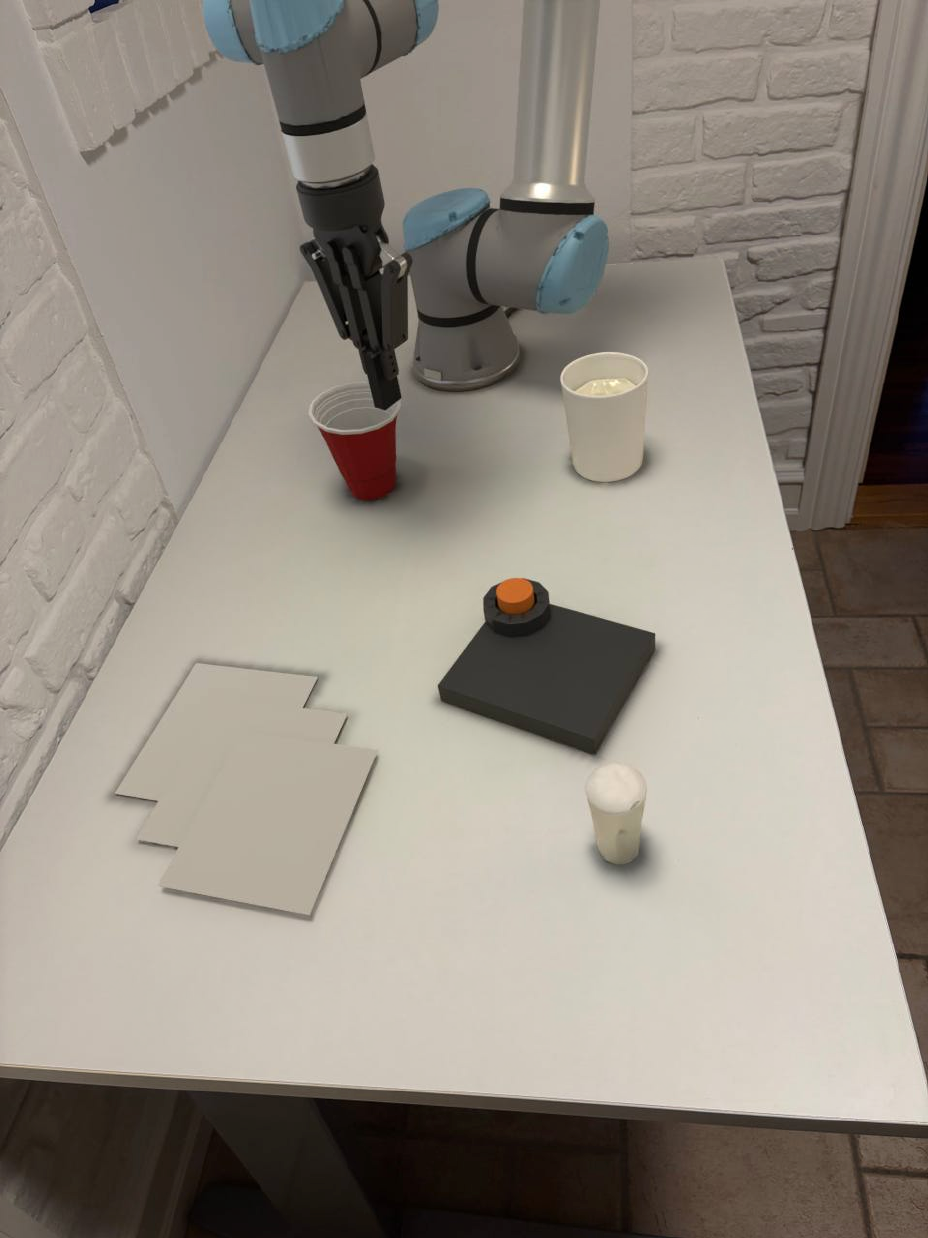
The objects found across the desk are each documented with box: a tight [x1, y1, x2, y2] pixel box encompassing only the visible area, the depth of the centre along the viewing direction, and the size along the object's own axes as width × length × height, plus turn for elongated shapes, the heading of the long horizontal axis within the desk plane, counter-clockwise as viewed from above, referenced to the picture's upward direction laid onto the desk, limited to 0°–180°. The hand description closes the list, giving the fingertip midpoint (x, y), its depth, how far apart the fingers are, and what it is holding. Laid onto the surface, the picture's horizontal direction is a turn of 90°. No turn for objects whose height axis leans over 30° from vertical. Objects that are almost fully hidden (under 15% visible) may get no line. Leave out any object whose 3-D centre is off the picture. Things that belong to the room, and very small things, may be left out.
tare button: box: [496, 577, 534, 615], centre depth 94 cm, size 4×4×2 cm
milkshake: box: [584, 761, 648, 866], centre depth 73 cm, size 4×5×10 cm
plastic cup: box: [308, 380, 402, 502], centre depth 114 cm, size 11×11×12 cm
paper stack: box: [114, 662, 379, 916], centre depth 87 cm, size 23×25×1 cm
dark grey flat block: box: [437, 577, 656, 755], centre depth 91 cm, size 15×17×4 cm
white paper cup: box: [559, 351, 649, 483], centre depth 111 cm, size 10×10×12 cm
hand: (388, 402), depth 101 cm, fingers closed
